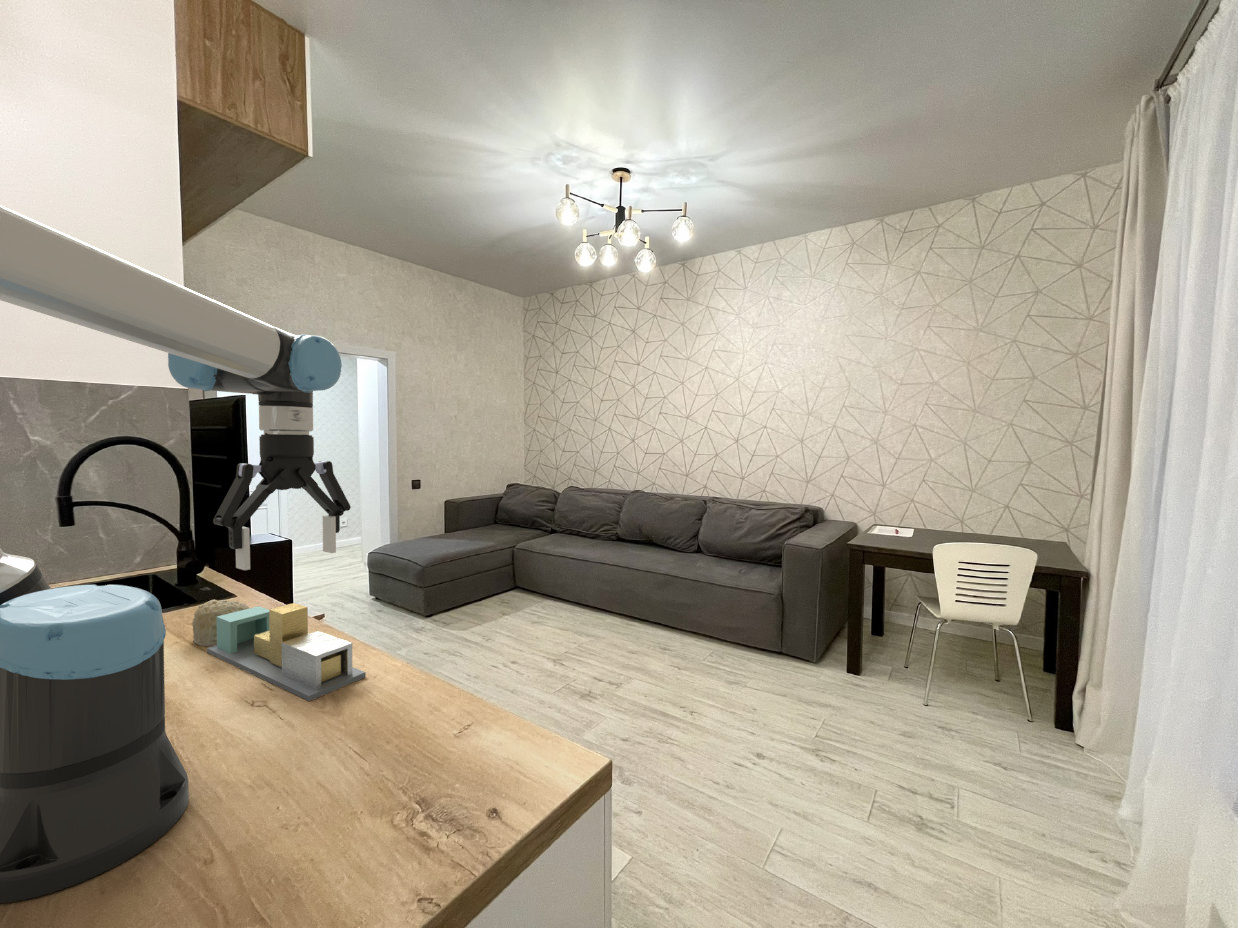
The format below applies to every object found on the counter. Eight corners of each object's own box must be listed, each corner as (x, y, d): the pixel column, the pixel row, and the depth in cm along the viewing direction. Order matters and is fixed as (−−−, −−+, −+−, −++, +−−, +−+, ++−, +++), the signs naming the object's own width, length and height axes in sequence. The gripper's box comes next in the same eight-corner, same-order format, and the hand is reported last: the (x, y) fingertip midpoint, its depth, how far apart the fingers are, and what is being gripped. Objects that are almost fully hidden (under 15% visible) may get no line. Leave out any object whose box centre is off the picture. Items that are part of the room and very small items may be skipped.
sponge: (221, 649, 101) (185, 612, 98) (268, 617, 104) (234, 580, 101) (206, 668, 92) (165, 628, 90) (257, 633, 96) (220, 593, 93)
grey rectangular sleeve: (316, 689, 76) (315, 656, 76) (281, 674, 81) (281, 642, 81) (352, 674, 81) (352, 642, 81) (318, 660, 86) (318, 630, 86)
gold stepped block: (318, 683, 77) (317, 626, 77) (251, 654, 87) (250, 603, 87) (343, 673, 81) (343, 618, 80) (276, 646, 91) (275, 597, 90)
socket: (230, 653, 88) (230, 622, 88) (216, 647, 90) (216, 616, 90) (273, 640, 94) (272, 611, 94) (259, 634, 96) (258, 606, 96)
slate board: (309, 701, 74) (309, 695, 74) (207, 652, 90) (206, 648, 90) (365, 676, 82) (365, 672, 82) (262, 636, 98) (262, 632, 98)
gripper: (207, 432, 70) (211, 581, 72) (370, 434, 92) (371, 548, 93) (183, 431, 74) (187, 573, 75) (345, 433, 96) (347, 543, 97)
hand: (289, 559), depth 84 cm, fingers open, 13 cm apart
